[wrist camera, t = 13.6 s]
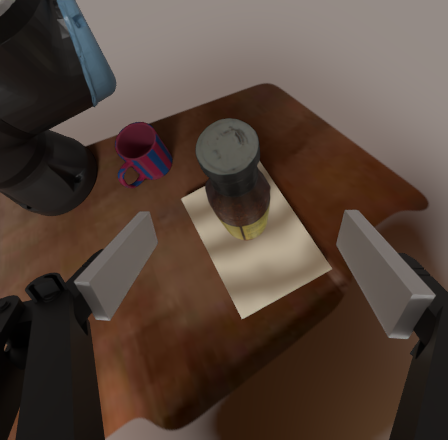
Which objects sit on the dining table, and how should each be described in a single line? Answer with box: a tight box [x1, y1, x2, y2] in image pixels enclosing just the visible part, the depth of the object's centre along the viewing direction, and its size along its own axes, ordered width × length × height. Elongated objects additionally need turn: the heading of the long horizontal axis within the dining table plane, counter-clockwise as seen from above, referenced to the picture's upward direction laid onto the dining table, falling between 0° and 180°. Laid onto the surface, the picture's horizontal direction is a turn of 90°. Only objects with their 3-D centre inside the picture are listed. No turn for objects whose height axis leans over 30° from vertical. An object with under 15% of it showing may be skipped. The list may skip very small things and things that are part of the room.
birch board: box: [182, 161, 332, 319], centre depth 33 cm, size 20×14×2 cm
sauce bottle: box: [196, 118, 271, 241], centre depth 22 cm, size 7×6×20 cm
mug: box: [115, 122, 172, 188], centre depth 35 cm, size 7×10×7 cm
